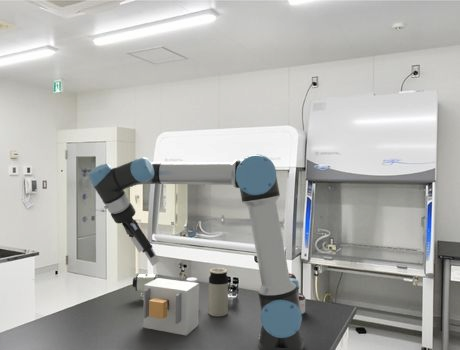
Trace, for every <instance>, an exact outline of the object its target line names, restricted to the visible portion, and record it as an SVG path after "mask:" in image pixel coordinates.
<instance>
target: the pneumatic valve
mask: <svg viewBox="0 0 460 350" xmlns="http://www.w3.org/2000/svg"><path fill="white" fill-rule="evenodd" d="M157 278H159V276H158V274H157V273H155V274H153V273H151V274H150V273H147V272H145V273H144V274H143V273H142V274H141V273H139V274H138V273H137V275H136V276H135V277H133V279H132V288H134V289H135V291H136V292H138V291H139V292H141V291H142V292H141V293H140V295H139V298H140V299H141V301H144V285H145V284H147V283H149V282H151V281H153V280H155V279H157Z"/></svg>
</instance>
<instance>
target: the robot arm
mask: <svg viewBox="0 0 460 350" xmlns="http://www.w3.org/2000/svg"><path fill="white" fill-rule="evenodd" d="M276 169H277V168H276V166H275V165H274V163H273V162H272V160H271V159H270V158H269V157H267V156H265V155H263V154H258V153H257V154H252V155H248V156H245V158H243V159H235V160H234V161H233V162H151V160H149V158H148V157H140V158H136V159H133V160H131V161H130V162H127V163H125V164H121V165H119V166H116V167H112V166H111V165H110V164H108V163H104V164H100V165H98V166H96V167H94V168H92V169H91V170H90V172H88V178H89V180H90V183H91V184H92V188H94V189H95V191H96V193H97V194H98V196H99V198H100V199H101V200H102V203H103V204H104V207H103V209H105V210H106V209H107V211H108V212H109V213H110V217H111V218H112V219H113V221H114V222H115V223H116V224H121V225H122V226H123V228H124V230H125V232H126V234H127V235H128V237H129V238H130V239H131V241H132V243H133V245H134V246H135V248H136V250H137V251H138V253H141V252H142V253H143V254H145V256H146V258H147V260H148V261H149V262H150V264H151V266H152V267H154V266H155V265H157V264H158V263H159V262H160V260H159V258H158V256H157V254H156V252H155V251H154V249H153V245H152V244H151V242H150V241H149V239H148V238H147V237H146V235H145V233H144V232H143V230H142V229H141V227H140V226H139V224H138V222H137V221H136V219H134V218H133V217H134V216H135V215H136V209H135V207H134V206H133V204H132V203H131V200H130V198H129V196H128V195H127V193H126V191H125V190H126V189H128V188H132V187H135V186H137V185H204V186H205V185H214V186H215V185H217V186H218V185H219V186H221V185H222V186H233V187H234V188H235V189H239V193H240V197H241V202H242V204H244V205H245V206H246V207H247V208H248V215H249V218H250V219H249V220H250V226H251V231H252V235H253V240H254V241H253V242H254V247H255V254H256V259H257V265H258V269H259V270H258V271H259V275H260V281H261V285H260V286H259V288H258V289H257V293H258V299H259V305H260V310H261V312H260V322H261V323H262V324H261V325H262V326H261V328H260V332H259V334H258V341H257V345H258V348H259V349H260V350H304V340H303V337H302V333H301V330H300V328H301V325H302V321H303V315H302V313H301V310H300V303H299V293H300V292H299V291H300V285H299V283H300V282H299V280H298V279H297V278H296V279H294V278H289V273H290V272H289V267H288V262H287V255H286V250H285V246H284V240H283V233H282V230H281V229H282V227H281V224H280V217H279V213H278V208H277V201H278V199H279V198H280V196H281V195H280V189H279V184H278V178H277V170H276Z"/></svg>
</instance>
